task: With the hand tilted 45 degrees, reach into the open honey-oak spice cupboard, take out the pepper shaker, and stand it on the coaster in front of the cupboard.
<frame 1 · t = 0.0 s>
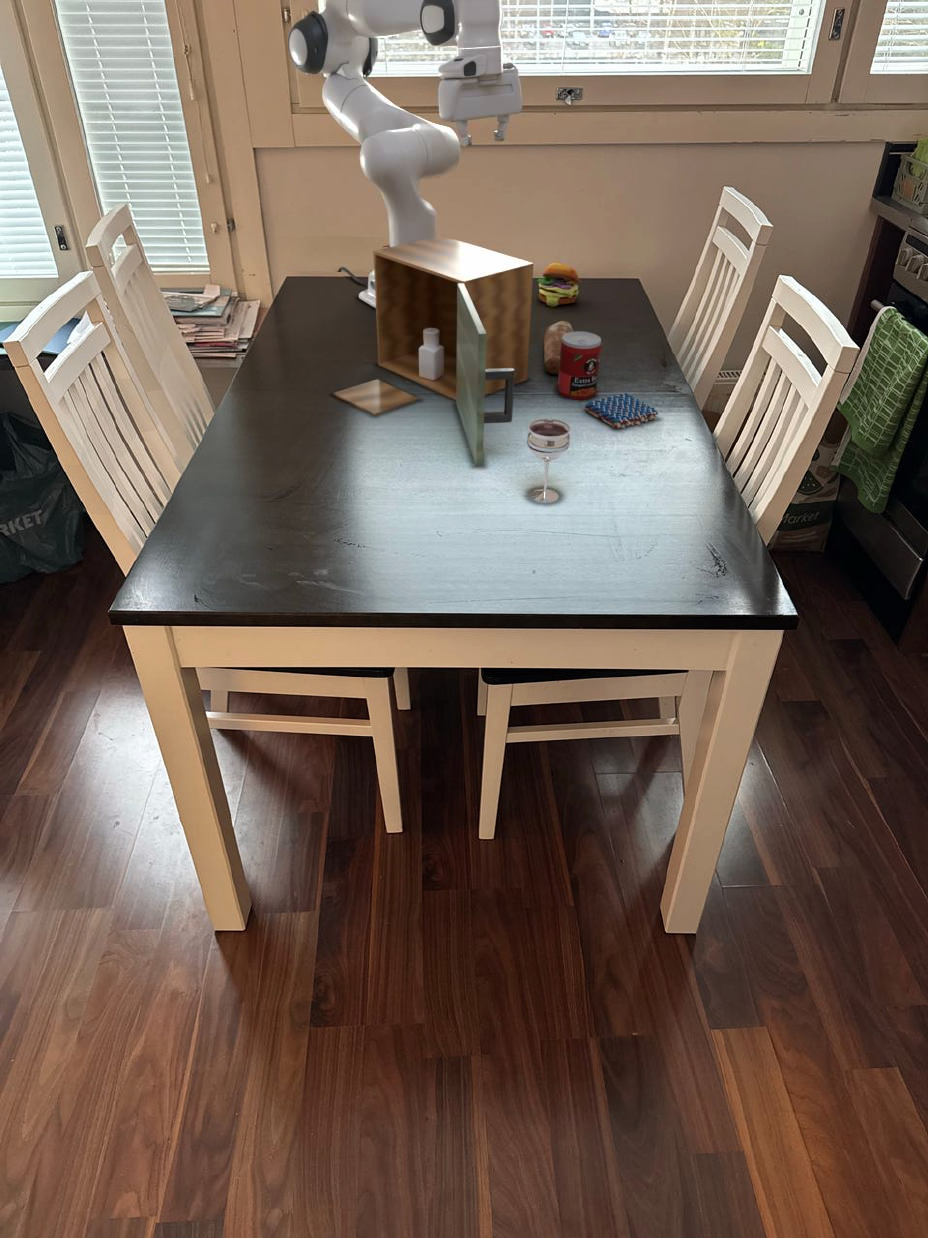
hand: (483, 143, 189), 39 cm above the table, tool pointing down, fingers open, 8 cm apart
bread: (558, 361, 197), on the table
woven mat: (620, 416, 175), on the table
wineglass: (544, 497, 149), on the table
cheeseburger: (557, 301, 230), on the table
cupboard: (451, 372, 191), on the table
canned food: (576, 393, 184), on the table
cupboard door: (484, 372, 161), point 12 cm above the table, hinge at 145.0°
pepper shaker: (431, 377, 188), resting on cupboard
coaster: (375, 398, 180), on the table
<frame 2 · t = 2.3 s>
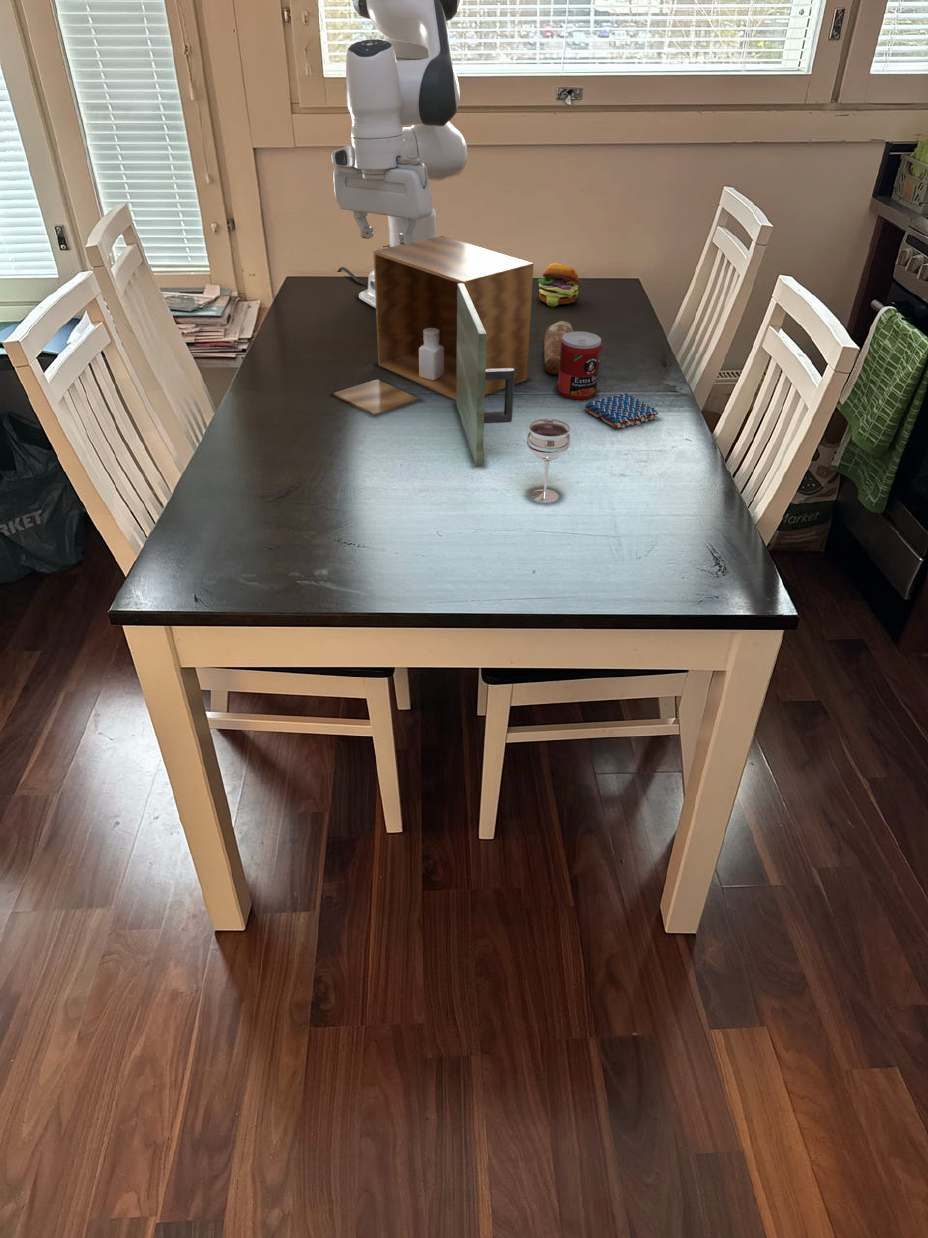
hand: (386, 240, 163), 29 cm above the table, tool pointing down, fingers open, 8 cm apart
nothing on the table moved.
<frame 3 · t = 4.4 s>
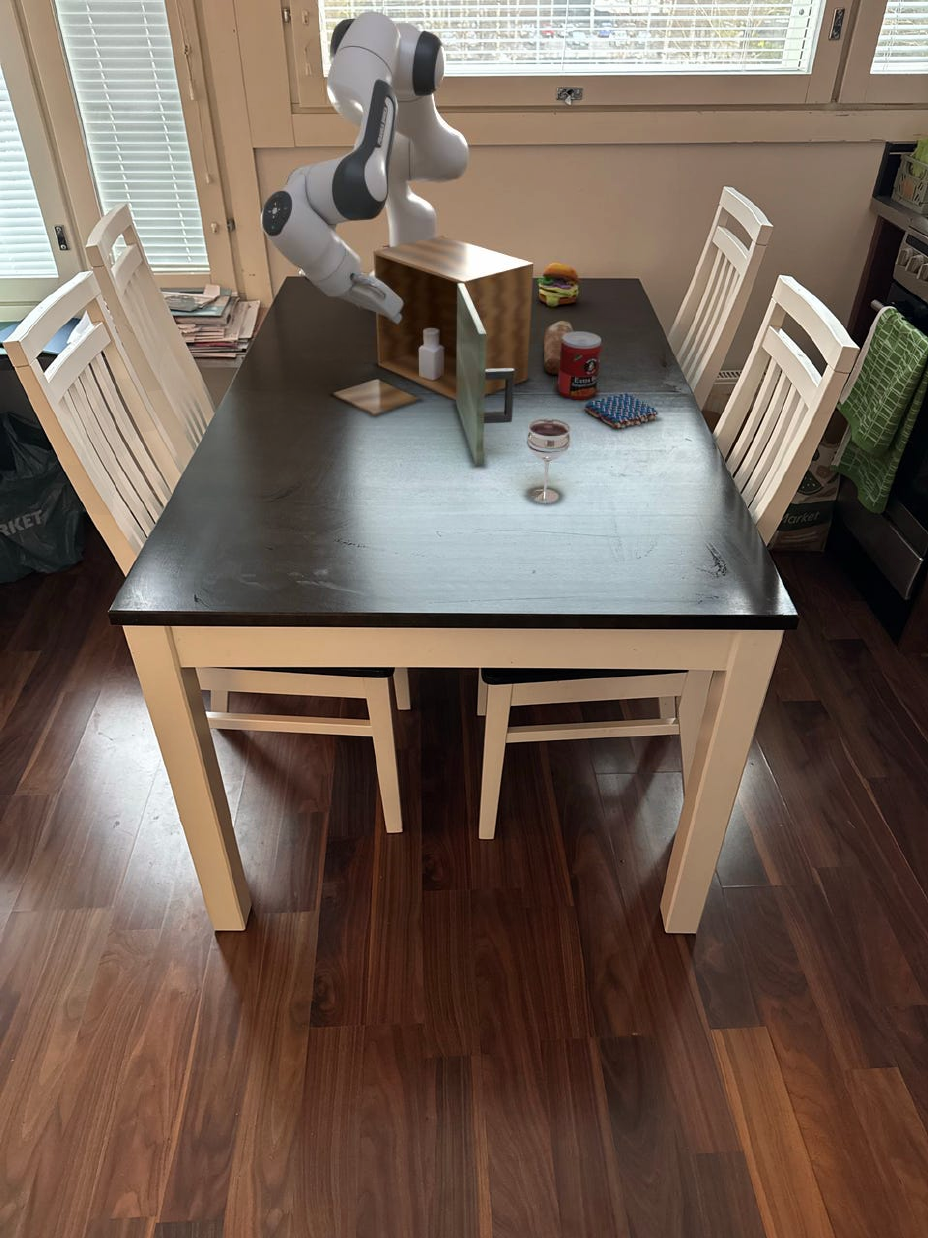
hand: (381, 313, 172), 16 cm above the table, tool tilted 45°, fingers open, 8 cm apart
nothing on the table moved.
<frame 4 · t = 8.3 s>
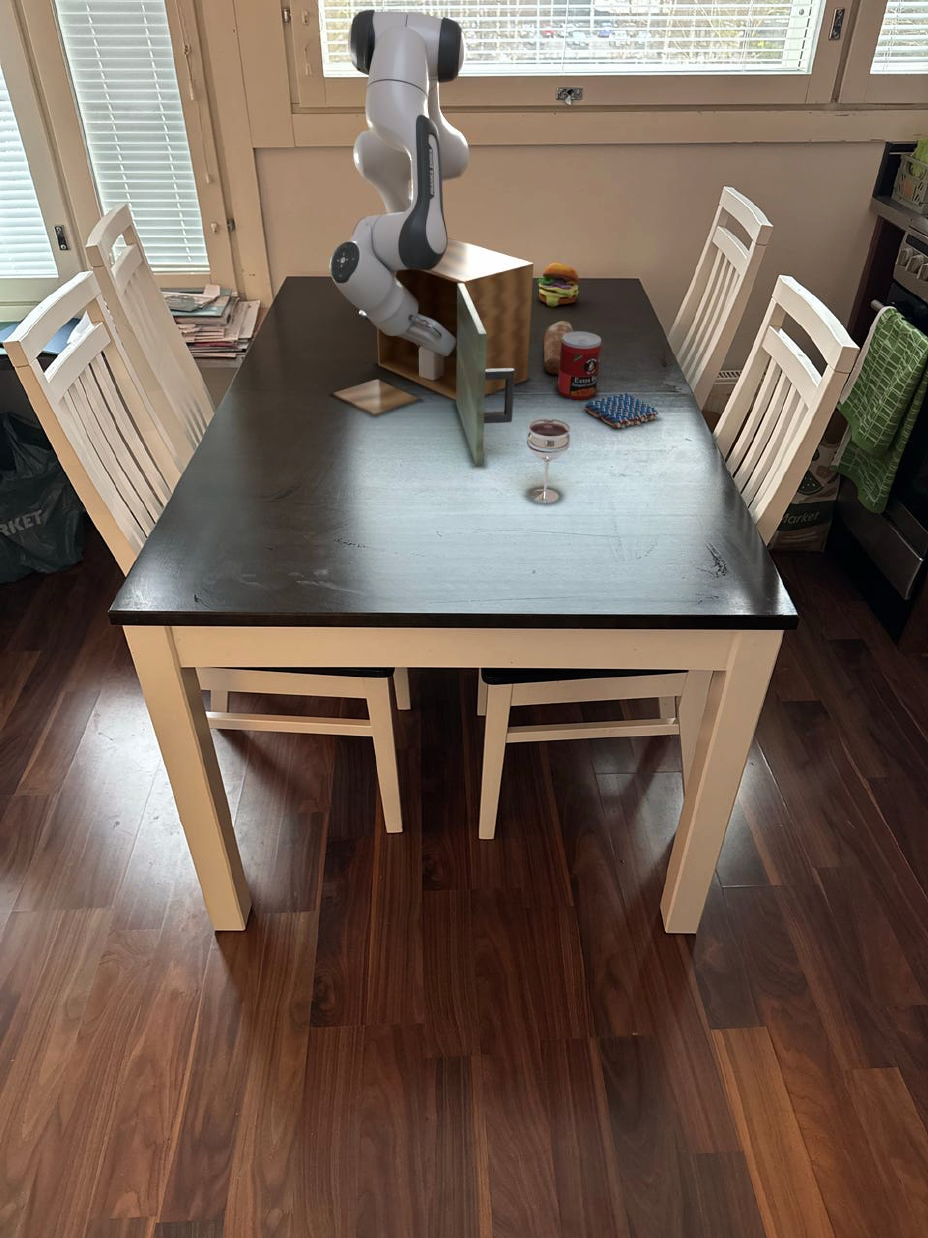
hand: (433, 348, 185), 6 cm above the table, tool tilted 45°, fingers closed on pepper shaker, 4 cm apart
pepper shaker: (431, 377, 188), resting on cupboard, touching gripper
everything else where it was.
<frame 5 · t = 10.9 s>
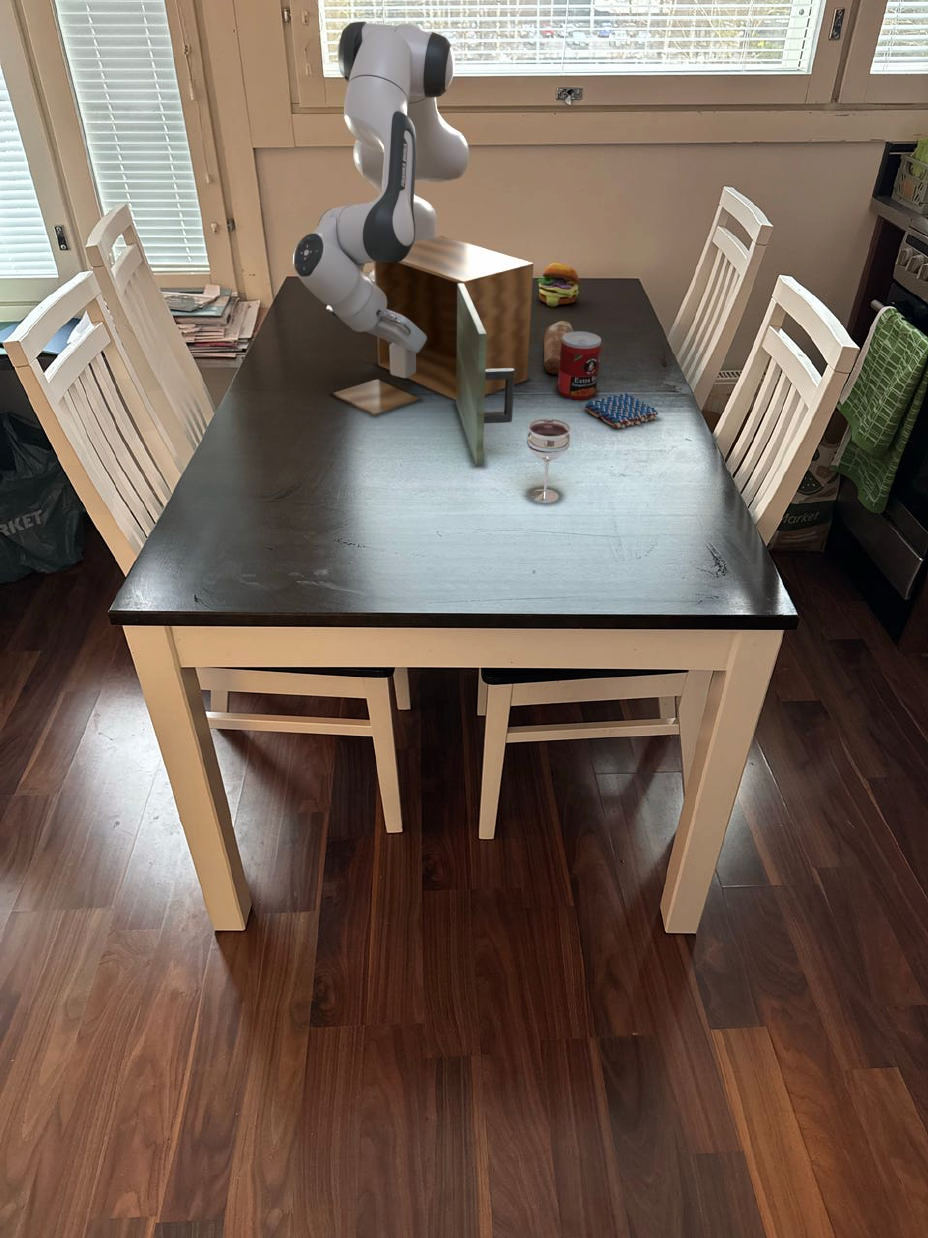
hand: (404, 345, 179), 9 cm above the table, tool tilted 45°, fingers closed on pepper shaker, 4 cm apart
pepper shaker: (403, 375, 182), point 3 cm above the table, touching gripper
everything else where it was.
when the fingers open (6 cm above the table, at t = 13.7 s): pepper shaker stays where it is, resting on coaster.
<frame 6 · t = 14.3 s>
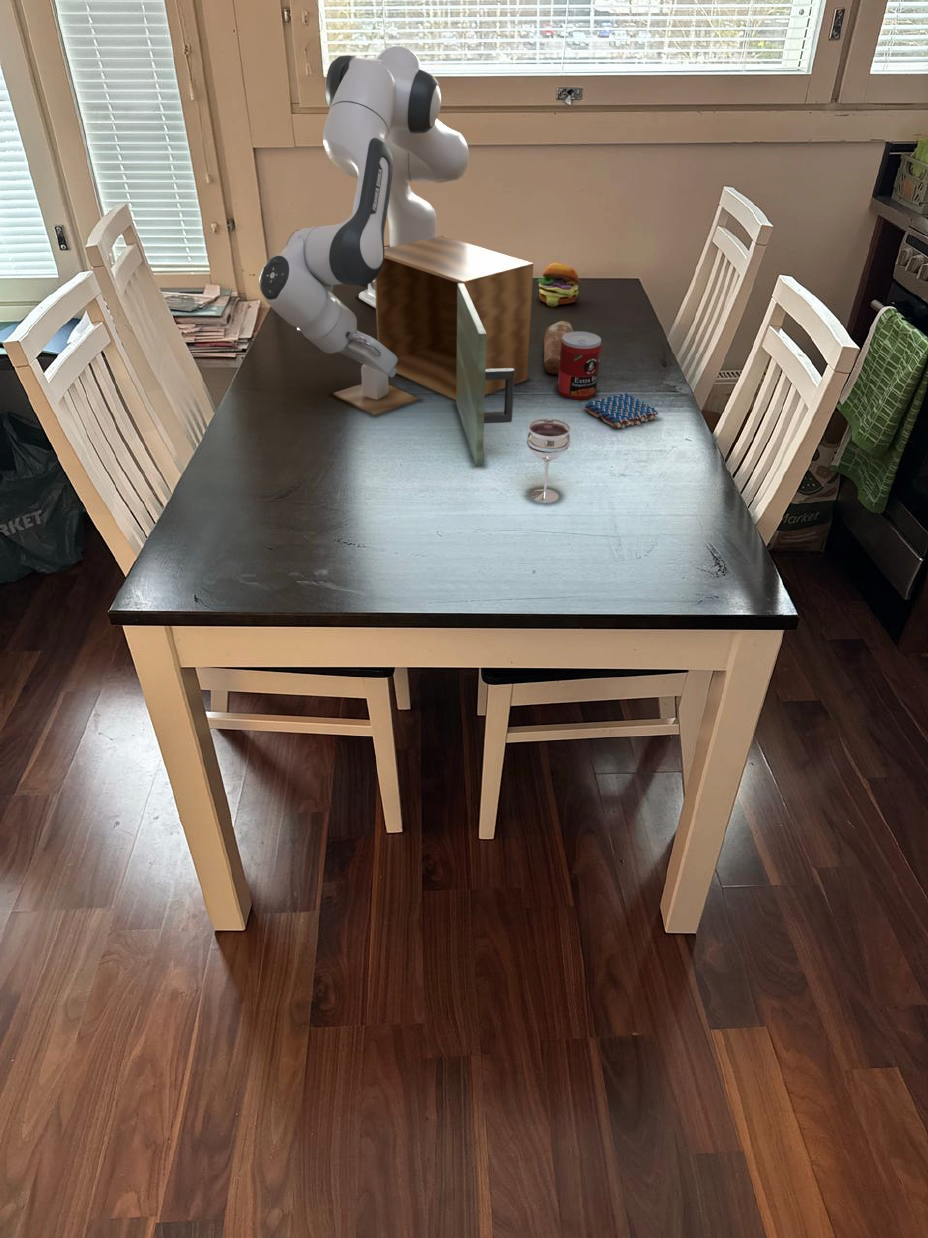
hand: (377, 366, 177), 6 cm above the table, tool tilted 45°, fingers open, 8 cm apart
pepper shaker: (375, 396, 180), resting on coaster
everything else where it was.
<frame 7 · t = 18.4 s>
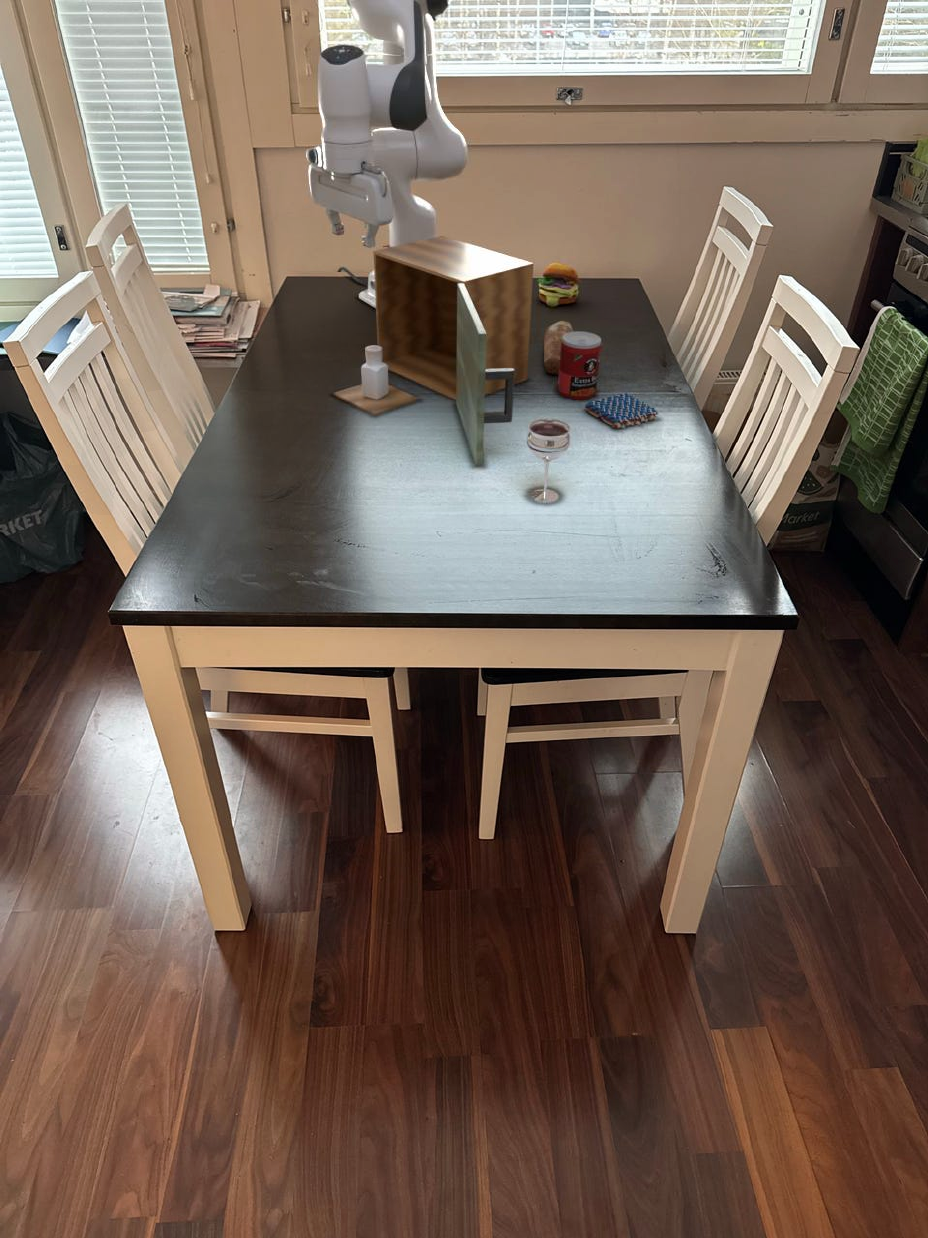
hand: (353, 240, 168), 28 cm above the table, tool pointing down, fingers open, 8 cm apart
nothing on the table moved.
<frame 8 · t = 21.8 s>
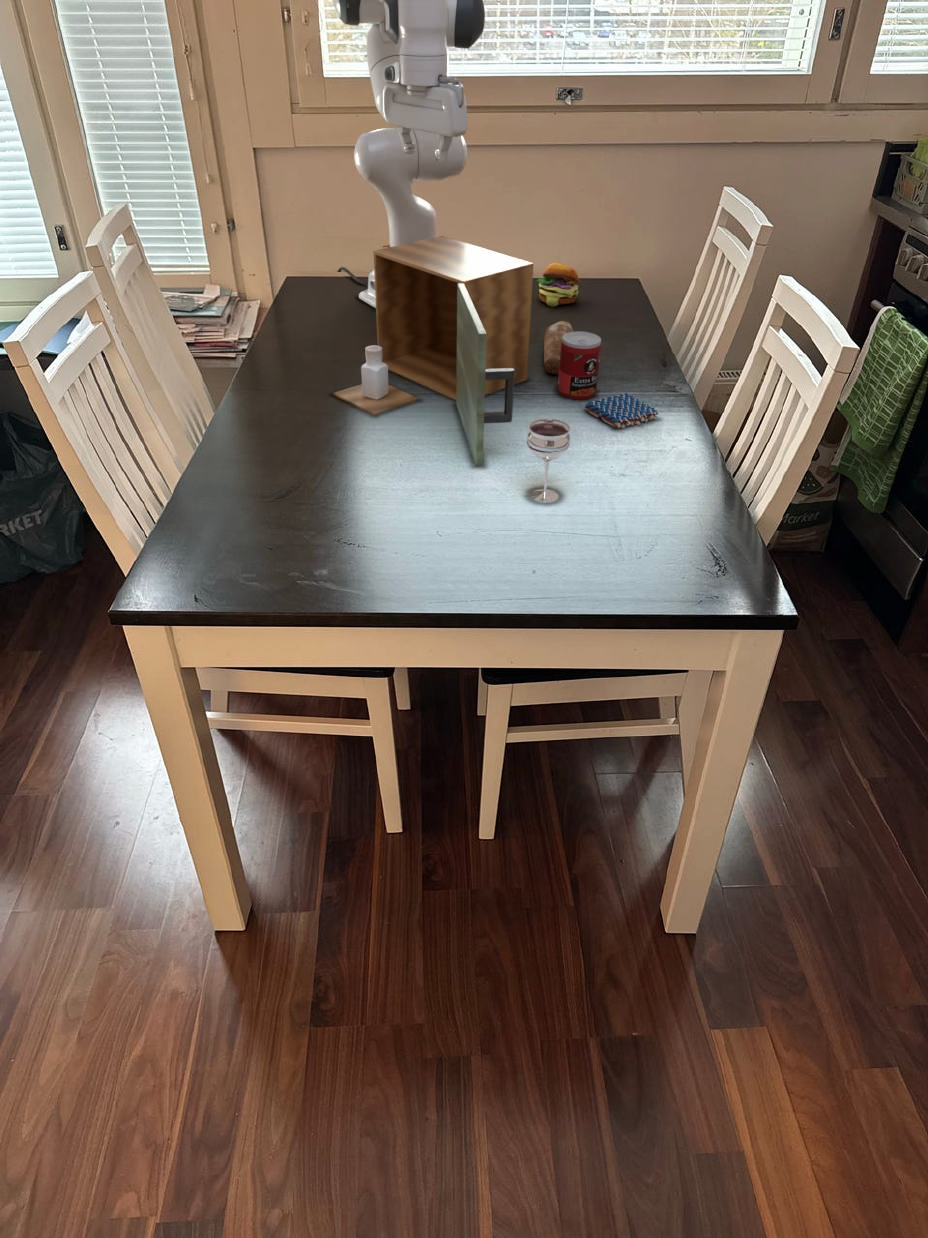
hand: (425, 156, 175), 39 cm above the table, tool pointing down, fingers open, 8 cm apart
nothing on the table moved.
at the end: pepper shaker inside the target area on the coaster (0.0 cm from its centre), point 0.3 cm above the coaster's base; pepper shaker tilted 0°; the gripper is holding nothing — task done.
